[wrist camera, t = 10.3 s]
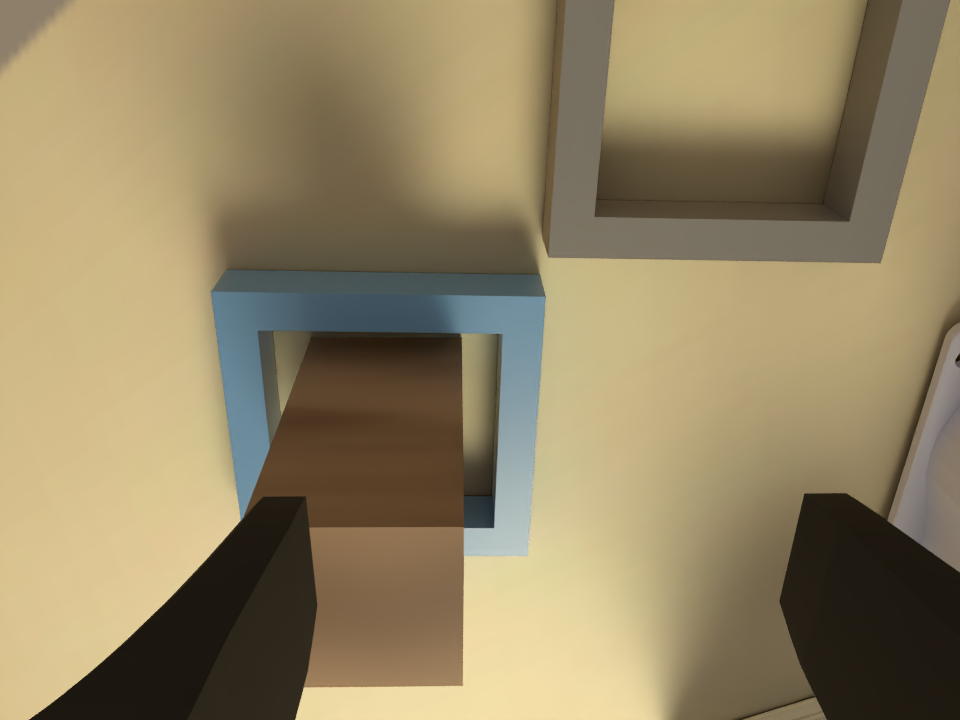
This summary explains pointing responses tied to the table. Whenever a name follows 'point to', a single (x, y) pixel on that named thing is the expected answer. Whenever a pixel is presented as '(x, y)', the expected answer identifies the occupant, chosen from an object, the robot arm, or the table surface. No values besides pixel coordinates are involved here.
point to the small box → (794, 712)
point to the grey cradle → (734, 225)
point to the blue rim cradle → (390, 308)
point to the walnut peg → (379, 506)
